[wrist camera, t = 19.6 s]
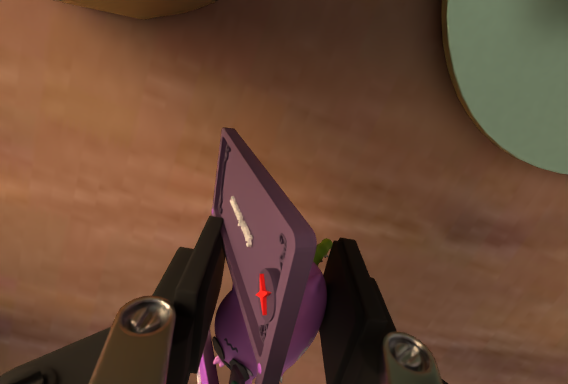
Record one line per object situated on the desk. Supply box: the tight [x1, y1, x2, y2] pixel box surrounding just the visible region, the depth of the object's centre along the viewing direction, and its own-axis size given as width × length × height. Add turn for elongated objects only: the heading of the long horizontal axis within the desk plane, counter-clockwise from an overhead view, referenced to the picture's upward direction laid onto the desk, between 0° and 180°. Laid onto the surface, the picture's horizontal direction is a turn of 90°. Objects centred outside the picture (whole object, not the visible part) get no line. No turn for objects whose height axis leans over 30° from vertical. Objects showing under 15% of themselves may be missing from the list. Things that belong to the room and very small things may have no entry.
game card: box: [197, 127, 333, 384], centre depth 10 cm, size 7×5×9 cm
